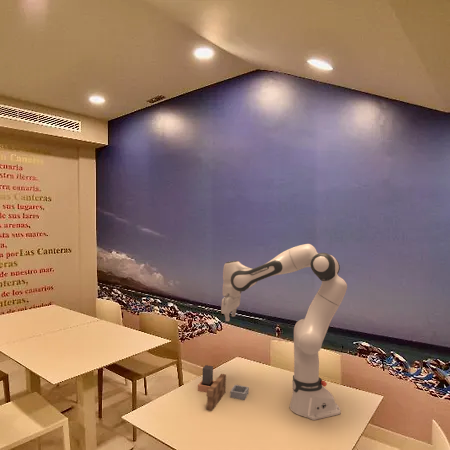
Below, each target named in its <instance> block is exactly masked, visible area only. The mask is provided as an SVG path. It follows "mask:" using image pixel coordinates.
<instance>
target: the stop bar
mask: <svg viewBox="0 0 450 450" xmlns="http://www.w3.org/2000/svg"><path fill="white" fill-rule="evenodd" d="M201 379H202V380H201V381H202V385H205V386H211V385H212V384H213V381H214V366H212V365H208V364H205V365H204V366H203V367H202V378H201Z"/></svg>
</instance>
